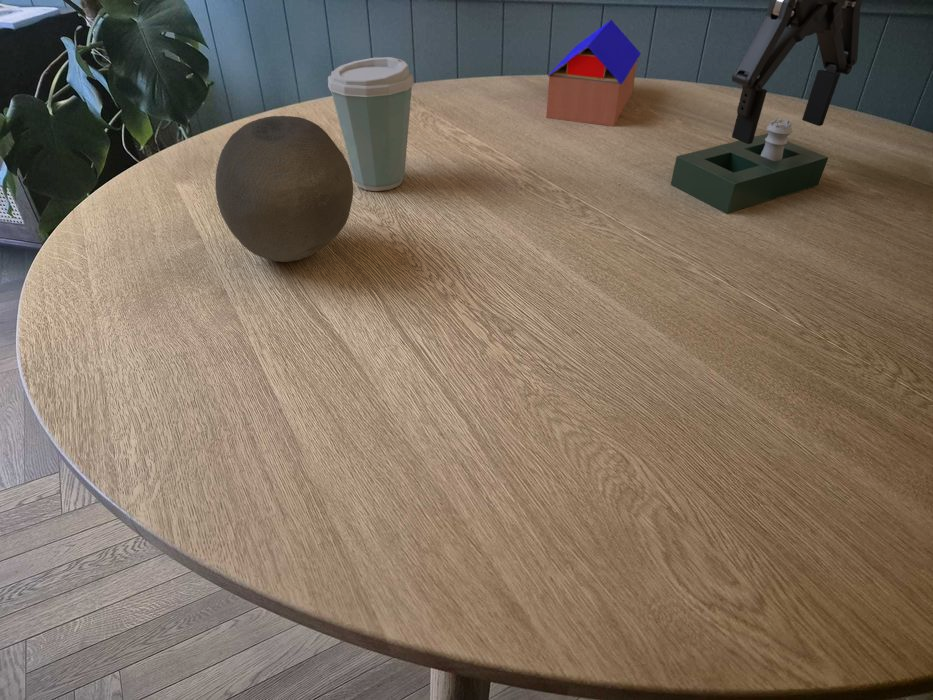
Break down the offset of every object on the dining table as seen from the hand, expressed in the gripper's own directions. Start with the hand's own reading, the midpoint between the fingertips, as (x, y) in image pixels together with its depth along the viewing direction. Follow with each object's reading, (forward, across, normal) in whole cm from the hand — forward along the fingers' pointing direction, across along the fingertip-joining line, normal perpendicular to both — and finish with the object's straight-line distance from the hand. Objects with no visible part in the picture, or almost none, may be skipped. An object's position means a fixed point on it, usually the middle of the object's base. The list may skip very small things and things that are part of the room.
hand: (778, 131), depth 87 cm
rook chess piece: (+7, 0, 0) cm, 7 cm away
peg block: (+7, +4, 0) cm, 8 cm away
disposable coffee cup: (+7, +47, -25) cm, 53 cm away
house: (+7, +1, -37) cm, 38 cm away
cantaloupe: (+7, +63, -11) cm, 64 cm away
